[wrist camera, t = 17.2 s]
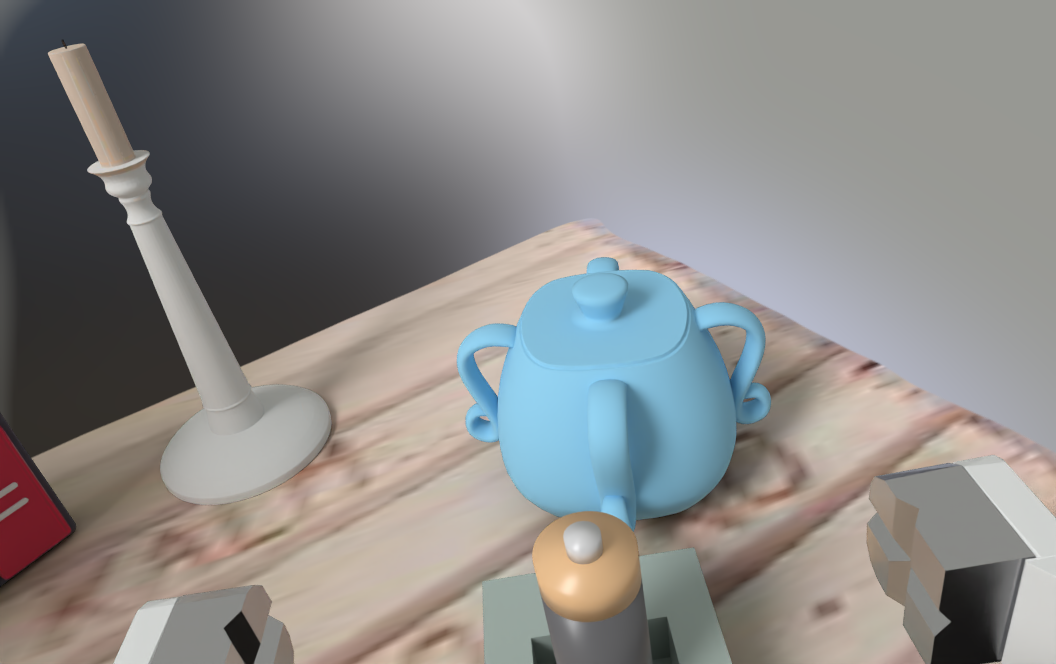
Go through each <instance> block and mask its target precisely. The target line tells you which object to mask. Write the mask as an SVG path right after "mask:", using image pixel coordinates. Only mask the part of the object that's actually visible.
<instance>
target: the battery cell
mask: <svg viewBox="0 0 1056 664" xmlns="http://www.w3.org/2000/svg"><path fill="white" fill-rule="evenodd" d="M532 558H533V564H534V568H535V573H536V577H537V581H538V586H539V590H540V594H541V599H542V603H543V607H544V612H545V616H546V620H547V624H548V629H549V633H550V637H551V642H552V646H553V650H554V655H555V659H556V663H557V664H653V661H652V654H651V646H650V638H649V630H648V622H647V615H646V607H645V599H644V591H643V583H642V575H641V568H640V560H639V552H638V544H637V540H636V537H635V535H634V533H633V531H632V530H631V528H630V527H629V526H628V525H627V524H626V523H625V522H623V521H622V520H621V519H619V518H617V517H615V516H613V515H610V514H607V513H603V512H597V511H583V512H576V513H572V514H568V515H566V516H563V517H561V518H559V519H557V520H555V521H554V522H552V523H551V524H549V525H548V526H547V527H546V528H545V529H544V530H543V531H542V532H541V533H540V535H539V536H538V538H537V540H536V542H535V544H534V547H533V554H532Z"/></svg>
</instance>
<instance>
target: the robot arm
mask: <svg viewBox="0 0 1056 664" xmlns="http://www.w3.org/2000/svg"><path fill="white" fill-rule="evenodd" d="M869 500H870V501H871V503H872V504H873V506H874V508H875V509H876V511H877V513H876V514H875V515H874V516H873V517H872V519H871V520H870V521H869V522H868V523H867V546H868V551H869V556H870V561H871V564H872V567H873V569H874V572H875V574H876V577H877V579H878V581H879V583H880V585H881V586H882V588H883V590H884V592H885V594H886V595H887V596H889V597H890V598H892V599H893V600H895V601H897V602H898V603H900V604H902V605H903V606H905V610H904V619H903V626H904V627H905V629H906V631H907V633H908V634H909V636H910V638H911V640H912V641H913V643H914V645H915V647H916V648H917V650H918V652H919V654H920V655H921V657H922V659H923V661H924V662H925V664H986V663H993V662H1000V661H1001V664H1056V517H1055V516H1054V515H1053V514H1052V513H1051V512H1050V511H1049V510H1048V509H1047V507H1046V506H1045V505H1044V504H1043V503H1042V502H1041V501H1040V500H1039V499H1038V498H1037V496H1036V495H1035V494H1034V493H1033V492H1032V491H1031V490H1030V489H1029V488H1028V486H1027V485H1026V484H1025V483H1024V482H1023V481H1022V480H1021V479H1020V478H1019V477H1018V475H1017V474H1016V473H1015V472H1014V471H1013V470H1012V469H1011V468H1010V467H1009V466H1008V464H1007V463H1006V462H1005V461H1004V460H1003V459H1001V458H999V457H997V456H995V455H991V456H985V457H980V458H974V459H969V460H963V461H957V462H954V463H946V464H940V465H935V466H929V467H924V468H918V469H913V470H908V471H902V472H897V473H891V474H886V475H881V476H875V477H874V479H873V481H872V482H871V484H870V494H869ZM271 603H272V601H271V599H270V598H269V596H268V594H267V593H266V591H265V590H264V588H263V586H260V585H251V586H244V587H237V588H231V589H224V590H217V591H210V592H203V593H197V594H190V595H183V596H180V597H174V598H167V599H160V600H154V601H147V602H146V603H145V604H144V605H143V606H142V607H141V608H140V609H139V610H138V611H137V613H136V615H135V617H134V619H133V621H132V623H131V626H130V628H129V630H128V632H127V634H126V636H125V639H124V641H123V643H122V645H121V647H120V650H119V652H118V654H117V656H116V658H115V661H114V663H113V664H294V650H293V647H292V643H291V639H290V635H289V633H288V631H287V629H286V627H285V625H284V623H282V622H280V621H278V620H276V619H275V618H273V617H271V616H269V615H268V614H269V611H270V607H271Z"/></svg>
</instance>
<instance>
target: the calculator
mask: <svg viewBox="0 0 1056 664" xmlns="http://www.w3.org/2000/svg"><path fill="white" fill-rule="evenodd" d="M75 529H76V524H75V522H74V521H73V519H72V518H71V516H70V515H69V513H68V512H67V510H66V509H65V507H64V506H63V504H62V503H61V501H60V500H59V499H58V497H57V496H56V494H55V493H54V491H53V490H52V488H51V487H50V485H49V484H48V482H47V481H46V479H45V478H44V476H43V475H42V473H41V472H40V470H39V469H38V468H37V466H36V465H35V463H34V462H33V460H32V459H31V457H30V456H29V455H28V453H27V452H26V450H25V448H24V447H23V445H22V444H21V442H20V441H19V440H18V438H17V437H16V435H15V434H14V432H13V431H12V429H11V428H10V426H9V425H8V423H7V422H6V420H5V419H4V417H3V416H2V414H1V413H0V587H1V586H2V585H3V584H5V583H6V582H7V581H9V580H10V579H11V578H13V577H14V576H16V575H17V574H18V573H20V572H21V571H22V570H24V569H25V568H26V567H28V566H29V565H30V564H32V563H33V562H34V561H36V560H37V559H38V558H40V557H41V556H42V555H44V554H45V553H46V552H48V551H49V550H50V549H52V548H53V547H54V546H56V545H57V544H58V543H60V542H61V541H62V540H64V539H65V538H66V537H68V536H69V535H70V534H72V533H73V532H74V531H75Z"/></svg>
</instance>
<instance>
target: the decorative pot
mask: <svg viewBox="0 0 1056 664" xmlns="http://www.w3.org/2000/svg"><path fill="white" fill-rule="evenodd" d="M724 325H730V326H737V327H740V328H743V329H745V330H746V342H745V346H744V349H743V352H742V354H741V357H740V359H739V361H738V364H737V366H736V368H735V370H734V372H733V374H732V377H731V379H729V376H728V372H727V369H726V367H725V364H724V361H723V359H722V356H721V354H720V351H719V349H718V347H717V345H716V344H715V342H714V340H713V338H712V336H711V334H710V332H709V331H708V328H712V327H717V326H724ZM492 346H502V347H509V349H508V352H507V355H506V359H505V362H504V366H503V370H502V374H501V379H500V386H499V393H498V397H497V395H496V394H495V392H494V391H493V390H492V388H491V387H490V385H489V384H488V383H487V381H486V380H485V378H484V377H483V375H482V374H481V372H480V370H479V369H478V367H477V364H476V362H475V359H474V353H475V352H476V351H478V350H480V349H483V348H486V347H492ZM764 349H765V332H764V329H763V326H762V324H761V322H760V320H759V319H758V318H757V317H756V316H755V315H754V314H753V313H752V312H751V311H749V310H748V309H746V308H744V307H742V306H739V305H736V304H732V303H725V302H720V303H712V304H707V305H704V306H701V307H698V308H697V309H694V307H693V305H692V304H691V302H690V301H689V299H688V298H687V297H686V295H685V294H684V293H683V291H682V290H681V289H680V288H679V286H678V285H677V284H676V283H675V282H674V281H673V280H671V279H670V278H668V277H666V276H664V275H662V274H660V273H657V272H654V271H649V270H619V266H618V262H617V261H616V260H615V259H613V258H608V257H601V258H596V259H593V260H592V261H590V262H589V263H588V266H587V274H581V275H575V276H569V277H565V278H560V279H557V280H553V281H551V282H549V283H547V284H546V285H544V286H542V287H541V288H540V289H539V290H538V291H536V292H535V293H534V294H533V296H532V297H531V298H530V299H529V301H528V302H527V304H526V306H525V308H524V310H523V312H522V315H521V317H520V319H519V322H518V324H517V326H514V325H509V324H489V325H486V326H483V327H480V328H478V329H476V330H475V331H473V332H472V333H470V334H469V335H468V336H467V337H466V338H465V339H464V341H463V342H462V343H461V346H460V348H459V350H458V354H457V367H458V371H459V374H460V377H461V379H462V381H463V383H464V384H465V386H466V388H467V389H468V391H469V392H470V394H471V395H472V397H473V398H474V399H475V401H476V402H477V403H476V404H474V405H473V406H472V407H471V408H470V409H469V410H468V412H467V415H466V427H467V430H468V432H469V433H470V435H471V436H473V437H474V438H476V439H478V440H480V441H484V442H496V441H498V440H499V442H500V448H501V453H502V457H503V461H504V464H505V467H506V469H507V472H508V474H509V476H510V477H511V479H512V481H513V483H514V484H515V486H516V488H517V489H518V490H519V491H520V492H521V494H522V495H523V496H524V497H525V498H527V499H528V500H529V501H531V502H532V503H534V504H535V505H536V506H538V507H539V508H541V509H543V510H545V511H547V512H549V513H551V514H553V515H555V516H557V517H563V516H566V515H568V514H572V513H576V512H583V511H597V512H603V513H607V514H610V515H613V516H615V517H617V518H619V519H621V520H622V521H623V522H625V523H626V524H627V525H628V526H629V527H630V528H631V530H632V531H633V532H634V529H635V524H636V520H642V519H649V518H656V517H662V516H666V515H671V514H675V513H678V512H681V511H683V510H686V509H688V508H690V507H691V506H693V505H695V504H696V503H697V502H699V501H700V500H702V499H703V498H704V497H705V496H706V495H707V494H709V493H710V492H711V491H712V490H713V489H714V488H715V487H716V485H717V484H718V483H719V481H720V480H721V479H722V477H723V476H724V474H725V472H726V470H727V468H728V466H729V463H730V460H731V457H732V454H733V450H734V447H735V440H736V422H738V423H741V424H751V423H755V422H757V421H759V420H761V419H763V418H764V417H765V416H766V415H767V414H768V412H769V410H770V407H771V397H770V393H769V392H768V390H767V388H766V387H765V386H763V385H761V384H759V383H752V381H753V379H754V377H755V374H756V372H757V370H758V368H759V365H760V363H761V360H762V357H763V354H764ZM748 398H755V399H753V400H751V401H748V402H743V401H744V399H748ZM480 416H487V417H488V419H489V420H490V421H487V420H484V419H481V418H480Z"/></svg>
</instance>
